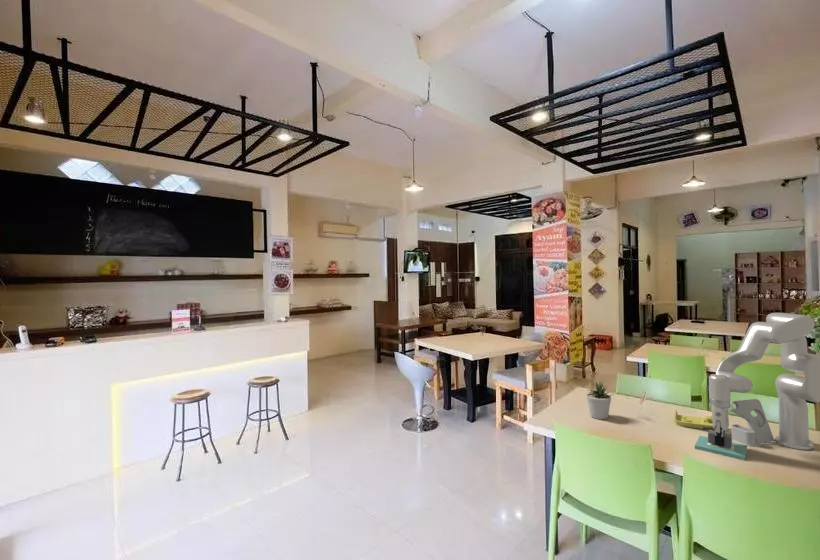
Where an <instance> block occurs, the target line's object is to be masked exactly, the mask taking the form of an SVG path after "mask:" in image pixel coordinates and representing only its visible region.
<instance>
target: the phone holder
mask: <svg viewBox="0 0 820 560" xmlns="http://www.w3.org/2000/svg"><path fill="white" fill-rule="evenodd" d="M730 402H731V408H729V409H728V410H730V412H732V413H733V414H735V415H737V416H739V417H740V418H742V419H743V420H745V421H746V422H747V426H748V427H745V426H742V425H741V424H740V425H739V424H731V426H730V431H731V433H730V434H732V441H733V440H734V441H736V442H738V443H739V444H742V445H747V447H760V446H761V447H762V446H769V444H770V445H777V444H776V443H778V442H771V441H775V437H774V436H773V433H772V430H771V427H770V425H769V422H768V420H767V417H766V413H765V411H764V408H763V405H762V403H761V401H760V400H759V399H757V398H752V399H751V398H750V399H741V400H740V399H739V400H730ZM733 404H734V406H735V408H734V407H733ZM752 411H753V412H754V413H755V416H754V415H752V413H751V412H752ZM764 442H767V443H764ZM778 444H779V443H778Z"/></svg>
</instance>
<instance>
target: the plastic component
mask: <svg viewBox="0 0 820 560" xmlns="http://www.w3.org/2000/svg"><path fill="white" fill-rule="evenodd" d="M673 419H674V423H675V425H676V426H679V427H684V426H685V428H691V429H692V428H693V429H700V430H702V429H704V428H708V429H709V430H713V429H714V428H713V419H712V415H711V416H710V415H706V416H703V417H700V416H691V415H683V414H682V415H681V414H678V410H674V415H673ZM714 430H715V429H714Z"/></svg>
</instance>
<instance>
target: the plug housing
mask: <svg viewBox="0 0 820 560" xmlns="http://www.w3.org/2000/svg"><path fill="white" fill-rule="evenodd" d="M721 433H722V432H721ZM707 437H708V443H712V444H715V430H713V429H709V430H708V432H707ZM723 437H724V446H725V447H730V448H731V447H732V442H733V439H732V434H731V433H726V432H725V433H723Z"/></svg>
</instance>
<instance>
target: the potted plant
mask: <svg viewBox="0 0 820 560" xmlns="http://www.w3.org/2000/svg"><path fill="white" fill-rule="evenodd" d="M603 382H604V381H603V379H602V382H601V381H599V382H597V380H596V379H595V380H594V382H593V386H594V387H595V390H593V389H591V388H589V389H587V391H589V392H587V394H585V396H586V400H587V406H588V410H589V415H590V416H592V417H591V418H593V417H594V418H593V419H597V420H606V419H608V417H609V414H610V409H611V408H610V406H611V401H612V396H613V395H614V394H609V392H610V391H608V392H606V391H607V389H608V384H606V385H605V386H604V383H603Z"/></svg>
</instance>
